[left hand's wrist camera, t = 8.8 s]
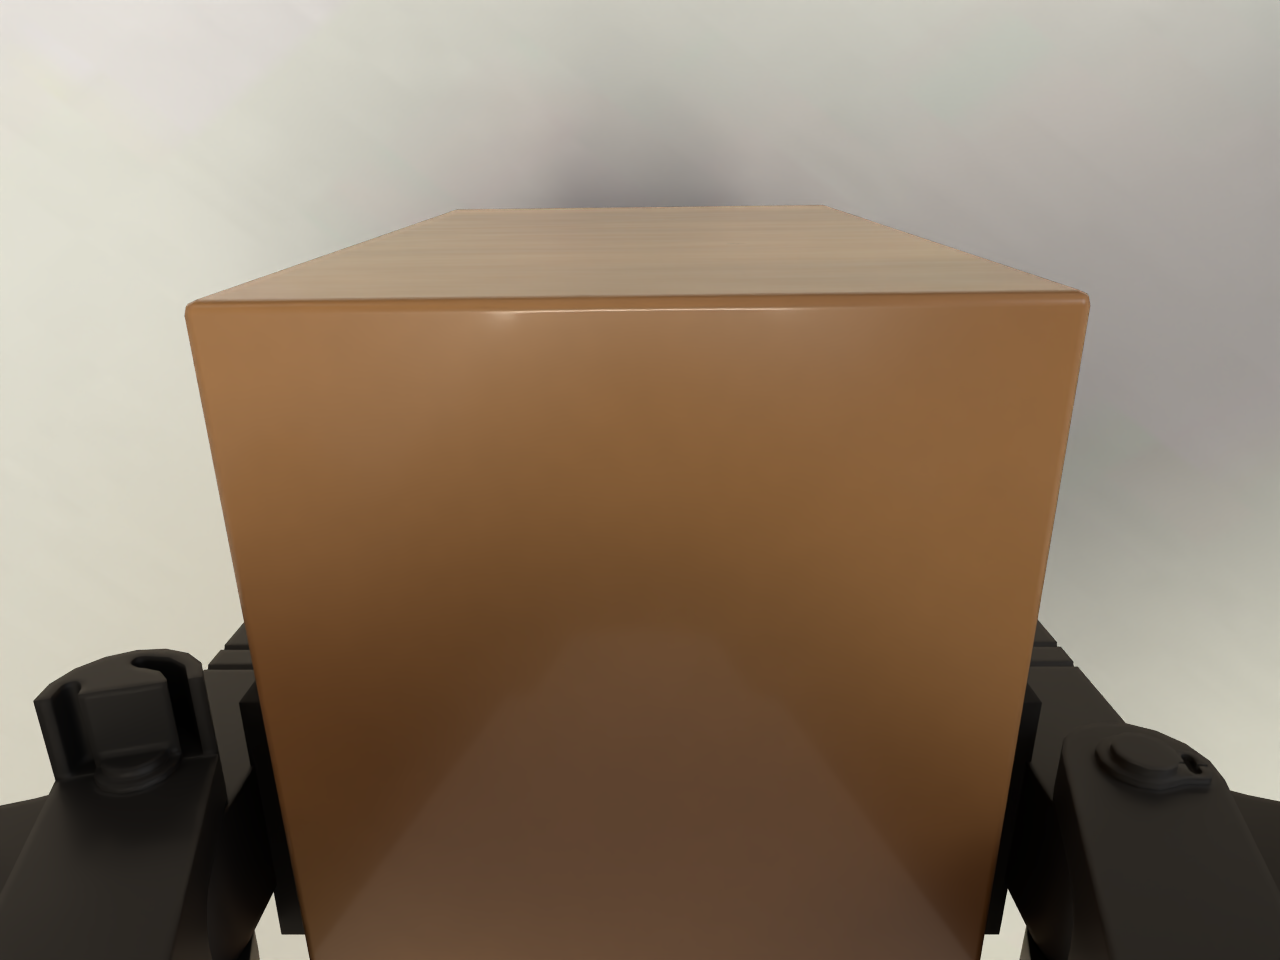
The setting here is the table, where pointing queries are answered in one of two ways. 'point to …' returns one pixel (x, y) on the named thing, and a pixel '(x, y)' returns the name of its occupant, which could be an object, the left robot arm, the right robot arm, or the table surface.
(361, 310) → the beam
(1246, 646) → the table surface
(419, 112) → the table surface
